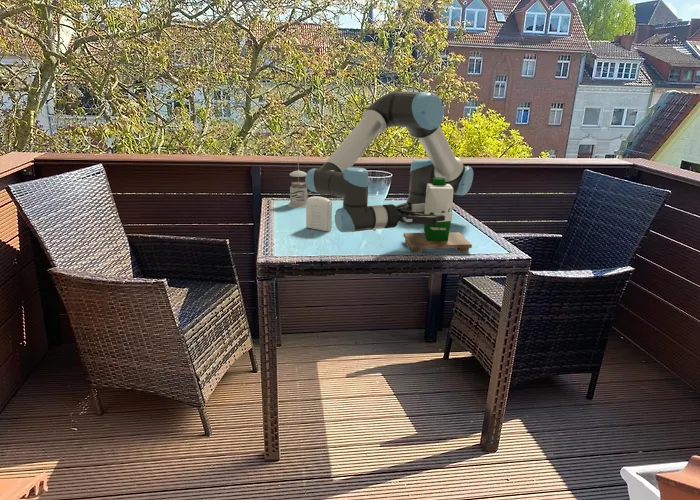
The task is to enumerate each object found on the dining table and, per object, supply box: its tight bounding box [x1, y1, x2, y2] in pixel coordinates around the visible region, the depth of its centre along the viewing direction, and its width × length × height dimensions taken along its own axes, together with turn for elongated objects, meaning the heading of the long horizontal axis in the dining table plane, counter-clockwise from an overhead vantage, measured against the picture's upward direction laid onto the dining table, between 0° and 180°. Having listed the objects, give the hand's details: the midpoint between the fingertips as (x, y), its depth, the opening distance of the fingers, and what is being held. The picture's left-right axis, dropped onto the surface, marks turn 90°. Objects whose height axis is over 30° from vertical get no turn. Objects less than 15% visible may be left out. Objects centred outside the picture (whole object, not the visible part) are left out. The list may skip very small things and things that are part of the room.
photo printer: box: [305, 195, 333, 232], centre depth 184 cm, size 10×4×12 cm, turn 61°
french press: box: [287, 148, 313, 208], centre depth 219 cm, size 10×12×25 cm
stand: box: [402, 231, 473, 254], centre depth 168 cm, size 20×14×3 cm
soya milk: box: [423, 177, 454, 241], centre depth 165 cm, size 9×9×20 cm
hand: (439, 211), depth 164 cm, fingers open, 13 cm apart
